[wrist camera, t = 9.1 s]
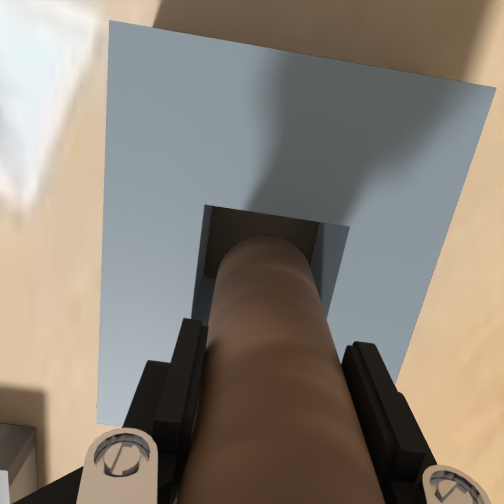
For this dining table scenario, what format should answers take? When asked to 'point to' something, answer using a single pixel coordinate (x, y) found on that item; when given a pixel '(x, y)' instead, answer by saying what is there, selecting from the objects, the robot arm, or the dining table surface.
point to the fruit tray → (17, 462)
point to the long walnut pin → (273, 392)
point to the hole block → (270, 186)
